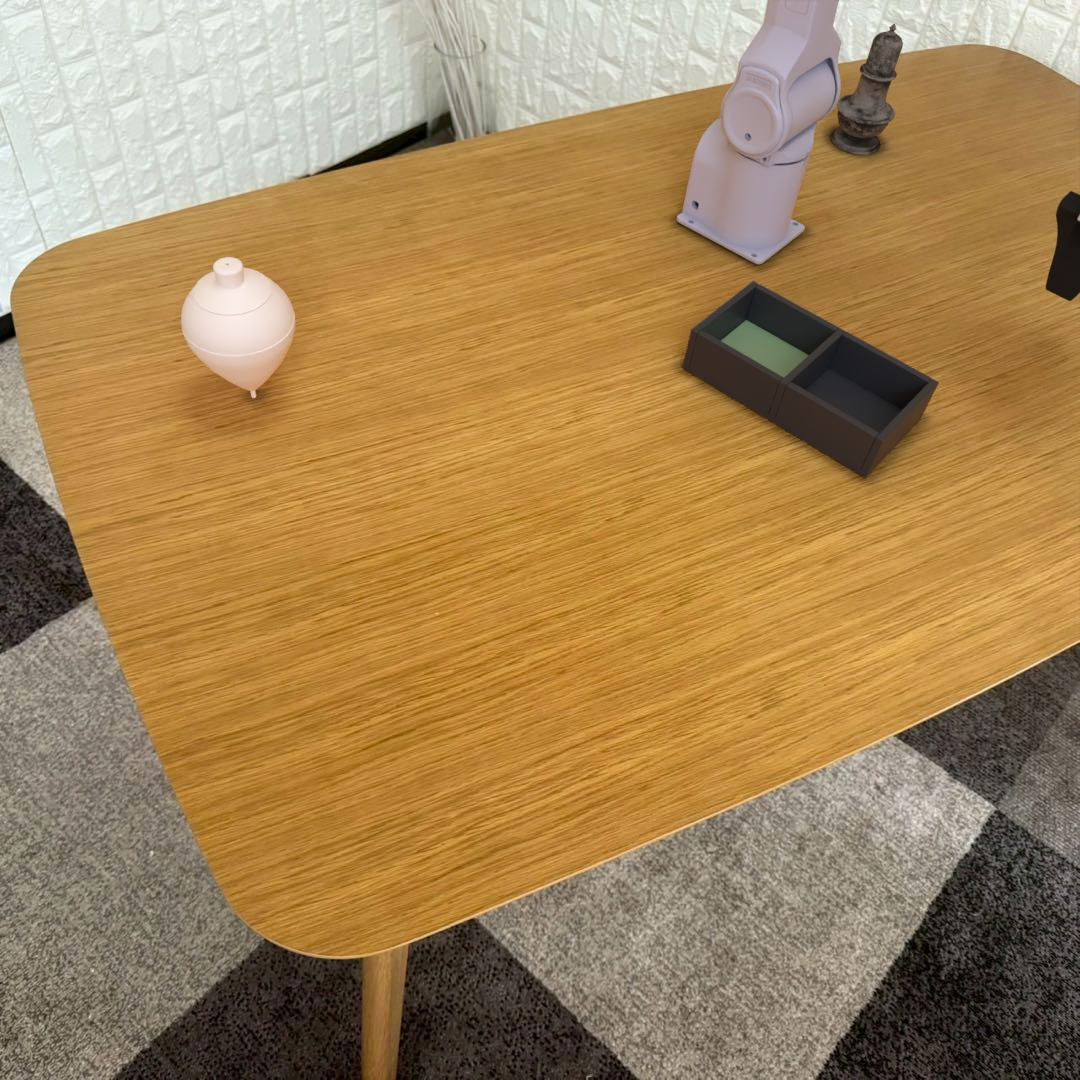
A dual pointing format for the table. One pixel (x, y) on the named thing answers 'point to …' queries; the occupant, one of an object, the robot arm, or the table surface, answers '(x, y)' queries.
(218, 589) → the table surface
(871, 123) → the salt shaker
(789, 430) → the divided box
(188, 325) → the spinning top
